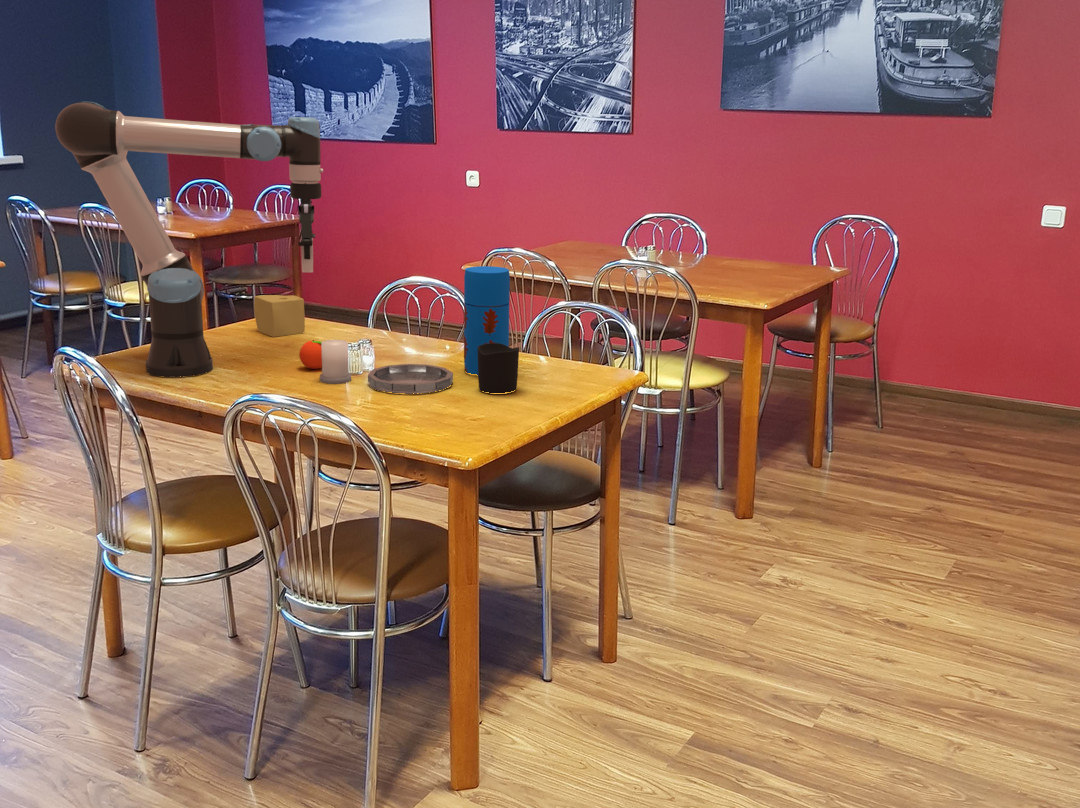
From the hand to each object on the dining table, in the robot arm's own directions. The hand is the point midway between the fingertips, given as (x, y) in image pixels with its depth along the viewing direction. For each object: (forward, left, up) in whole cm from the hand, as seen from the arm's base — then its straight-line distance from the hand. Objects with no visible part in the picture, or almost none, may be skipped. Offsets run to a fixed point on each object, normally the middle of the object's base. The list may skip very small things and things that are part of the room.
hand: (307, 268), depth 277 cm
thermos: (+12, -47, -22) cm, 53 cm away
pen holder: (0, -59, -22) cm, 63 cm away
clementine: (-11, -13, -22) cm, 28 cm away
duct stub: (-16, -24, -22) cm, 36 cm away
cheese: (+13, +24, -22) cm, 35 cm away
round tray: (-8, -40, -22) cm, 46 cm away
